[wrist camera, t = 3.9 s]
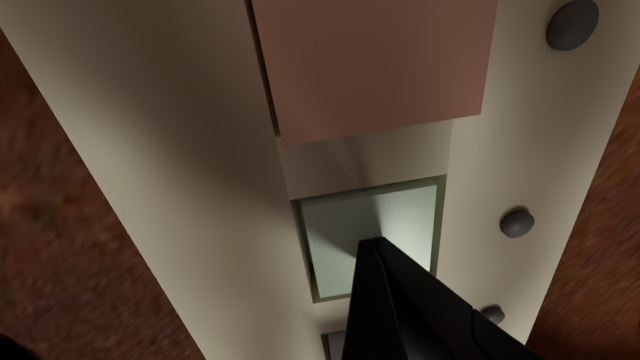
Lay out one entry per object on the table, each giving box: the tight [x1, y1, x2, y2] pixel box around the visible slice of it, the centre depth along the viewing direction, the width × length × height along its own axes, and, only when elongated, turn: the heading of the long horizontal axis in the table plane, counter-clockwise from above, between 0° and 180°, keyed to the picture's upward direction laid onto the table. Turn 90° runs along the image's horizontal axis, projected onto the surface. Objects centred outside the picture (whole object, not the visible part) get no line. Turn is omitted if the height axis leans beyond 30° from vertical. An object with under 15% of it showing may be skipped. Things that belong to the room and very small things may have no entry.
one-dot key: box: [301, 177, 437, 298], centre depth 10 cm, size 4×4×2 cm
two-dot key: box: [252, 0, 498, 147], centre depth 5 cm, size 4×4×2 cm
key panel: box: [0, 0, 640, 360], centre depth 10 cm, size 14×20×3 cm
